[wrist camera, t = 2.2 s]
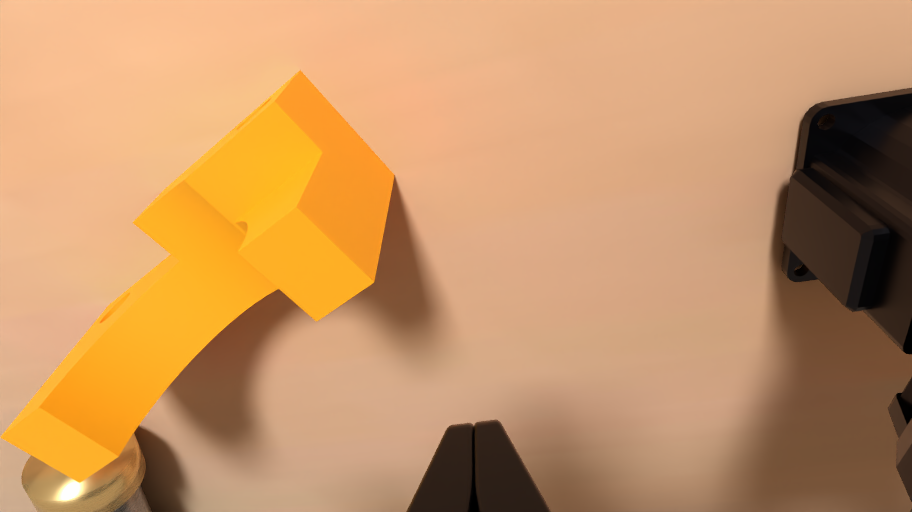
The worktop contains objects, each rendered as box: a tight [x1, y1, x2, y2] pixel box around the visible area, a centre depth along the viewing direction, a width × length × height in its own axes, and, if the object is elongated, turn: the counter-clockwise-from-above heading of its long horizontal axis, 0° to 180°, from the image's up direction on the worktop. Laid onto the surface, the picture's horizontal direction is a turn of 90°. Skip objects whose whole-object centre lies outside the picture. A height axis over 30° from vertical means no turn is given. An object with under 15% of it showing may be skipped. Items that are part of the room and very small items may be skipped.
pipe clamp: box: [1, 71, 395, 483], centre depth 18 cm, size 12×4×6 cm, turn 128°
